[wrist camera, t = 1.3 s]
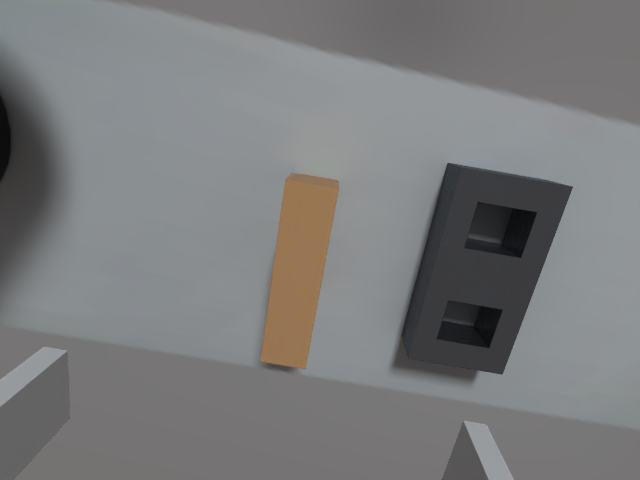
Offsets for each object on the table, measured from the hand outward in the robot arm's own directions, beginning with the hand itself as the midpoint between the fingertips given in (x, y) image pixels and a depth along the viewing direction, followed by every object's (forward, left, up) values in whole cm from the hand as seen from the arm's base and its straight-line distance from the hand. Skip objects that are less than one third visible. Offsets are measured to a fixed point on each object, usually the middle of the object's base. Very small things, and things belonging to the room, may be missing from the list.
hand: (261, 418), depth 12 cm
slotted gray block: (+10, +10, -21) cm, 25 cm away
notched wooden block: (0, 0, -21) cm, 21 cm away
